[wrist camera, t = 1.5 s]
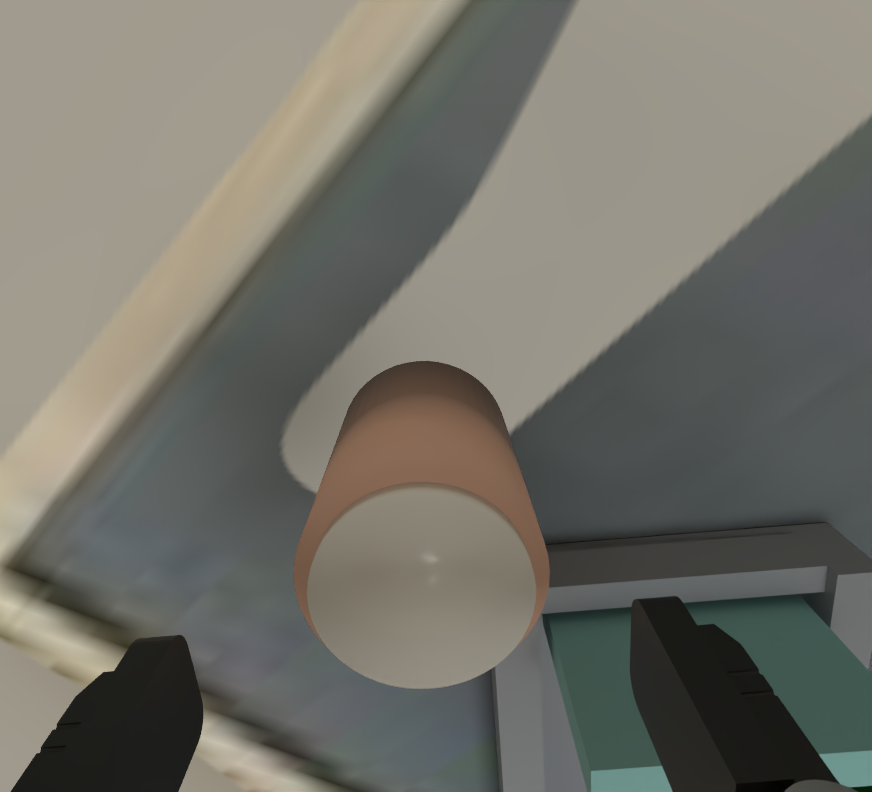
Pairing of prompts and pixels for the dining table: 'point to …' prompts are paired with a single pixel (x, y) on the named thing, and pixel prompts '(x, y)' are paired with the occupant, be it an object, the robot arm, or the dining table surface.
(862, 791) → the milk carton
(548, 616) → the plate
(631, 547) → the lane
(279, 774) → the dining table surface
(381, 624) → the jar
